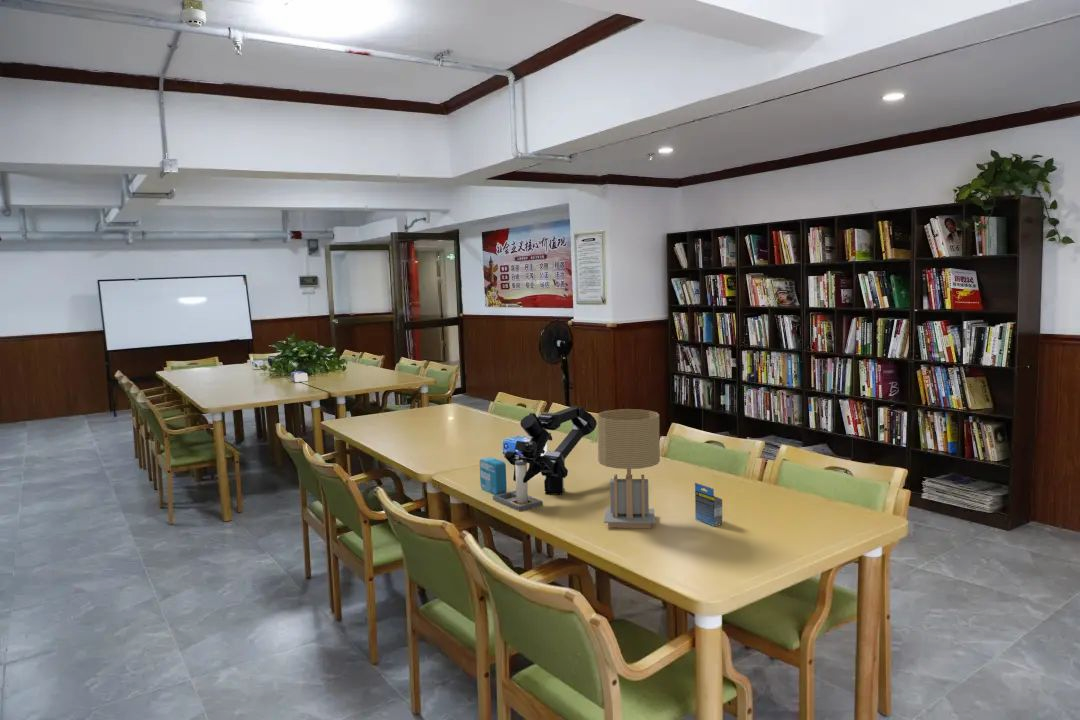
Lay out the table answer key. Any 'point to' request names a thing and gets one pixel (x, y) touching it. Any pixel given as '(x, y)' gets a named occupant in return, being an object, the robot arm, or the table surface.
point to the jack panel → (513, 501)
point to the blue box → (493, 475)
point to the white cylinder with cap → (521, 482)
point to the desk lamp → (628, 463)
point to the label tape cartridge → (707, 505)
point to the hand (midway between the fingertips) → (519, 481)
